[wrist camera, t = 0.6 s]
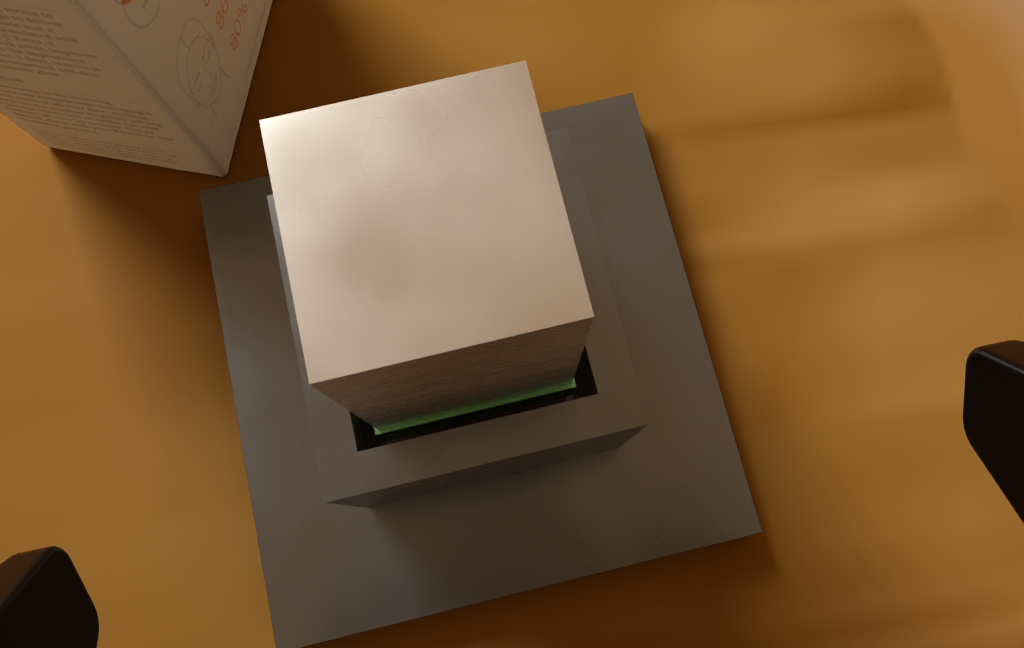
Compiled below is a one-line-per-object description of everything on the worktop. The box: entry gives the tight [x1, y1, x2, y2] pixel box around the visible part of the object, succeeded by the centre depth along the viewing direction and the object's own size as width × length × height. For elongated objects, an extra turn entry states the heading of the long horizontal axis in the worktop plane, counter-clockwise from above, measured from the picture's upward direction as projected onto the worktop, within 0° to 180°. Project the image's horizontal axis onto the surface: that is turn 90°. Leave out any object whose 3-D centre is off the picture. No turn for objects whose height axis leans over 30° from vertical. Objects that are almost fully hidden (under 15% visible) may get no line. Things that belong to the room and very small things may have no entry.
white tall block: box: [259, 60, 594, 442], centre depth 17 cm, size 4×4×10 cm
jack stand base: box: [199, 93, 762, 648], centre depth 21 cm, size 12×12×6 cm
